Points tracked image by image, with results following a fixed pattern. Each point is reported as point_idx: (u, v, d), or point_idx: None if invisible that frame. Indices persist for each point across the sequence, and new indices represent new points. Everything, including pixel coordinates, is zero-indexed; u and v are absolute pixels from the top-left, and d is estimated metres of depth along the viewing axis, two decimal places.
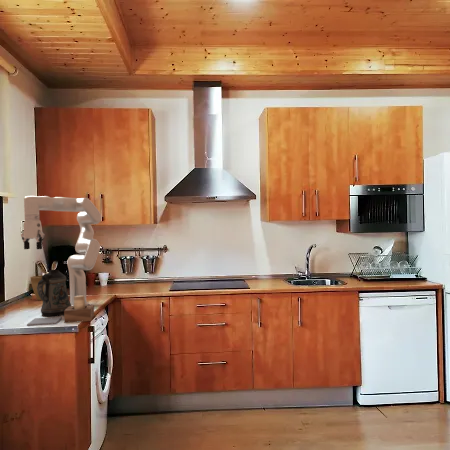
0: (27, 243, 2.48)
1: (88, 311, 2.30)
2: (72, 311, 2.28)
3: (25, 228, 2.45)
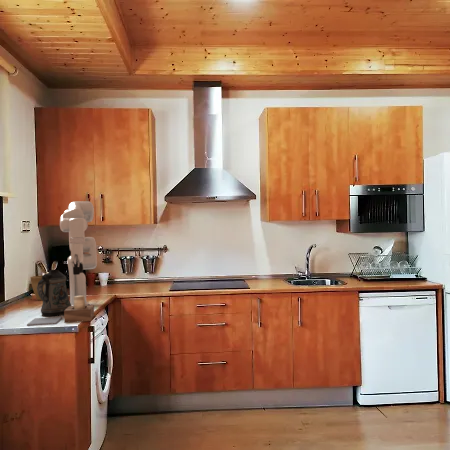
0: None
1: (88, 311, 2.30)
2: (72, 311, 2.28)
3: (81, 251, 2.33)
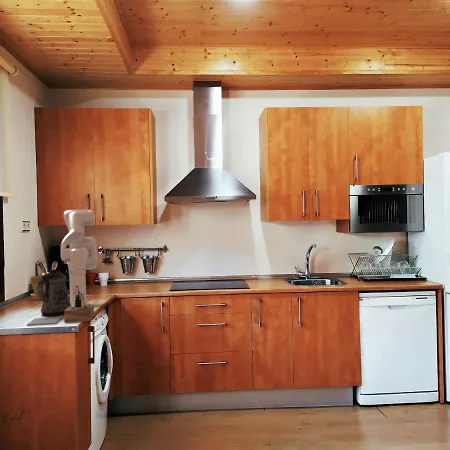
0: None
1: (88, 311, 2.30)
2: (72, 311, 2.28)
3: (82, 282, 2.33)
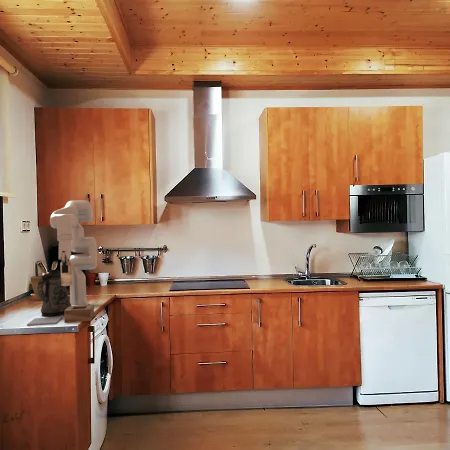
0: None
1: (88, 311, 2.30)
2: (72, 311, 2.28)
3: (69, 248, 2.31)
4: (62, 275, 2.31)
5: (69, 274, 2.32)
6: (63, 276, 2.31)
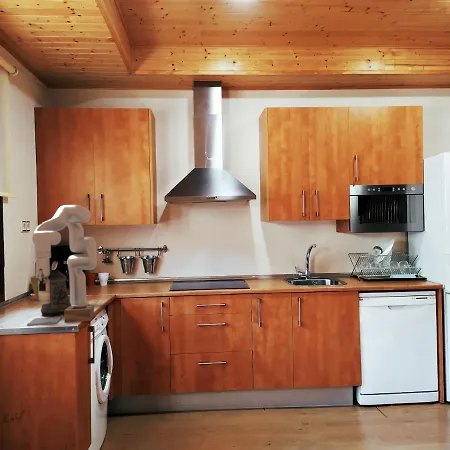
0: None
1: (88, 311, 2.30)
2: (72, 311, 2.28)
3: (46, 266, 2.28)
4: (39, 293, 2.28)
5: (47, 292, 2.29)
6: (40, 294, 2.28)
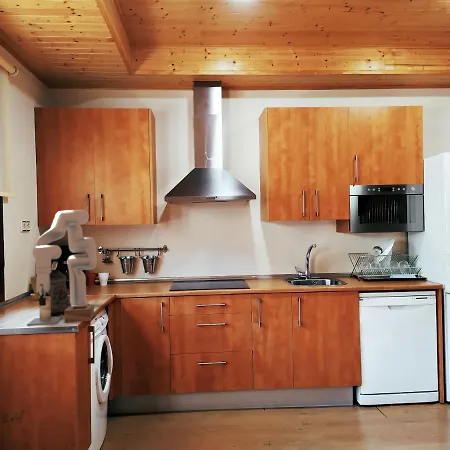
0: None
1: (88, 311, 2.30)
2: (72, 311, 2.28)
3: (47, 281, 2.28)
4: (40, 310, 2.28)
5: (48, 309, 2.29)
6: (41, 311, 2.28)
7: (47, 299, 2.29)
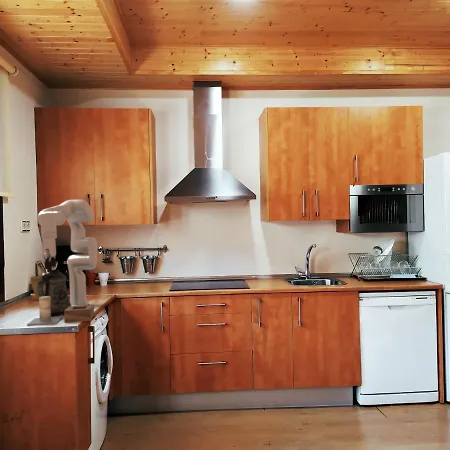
0: None
1: (88, 311, 2.30)
2: (72, 311, 2.28)
3: (52, 246, 2.32)
4: (40, 310, 2.29)
5: (48, 309, 2.29)
6: (41, 311, 2.28)
7: (47, 299, 2.29)
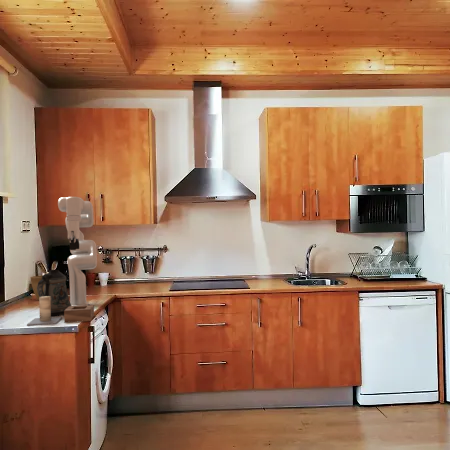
0: None
1: (88, 311, 2.30)
2: (72, 311, 2.28)
3: (77, 228, 2.46)
4: (41, 310, 2.29)
5: (48, 309, 2.30)
6: (42, 311, 2.28)
7: (47, 299, 2.29)
